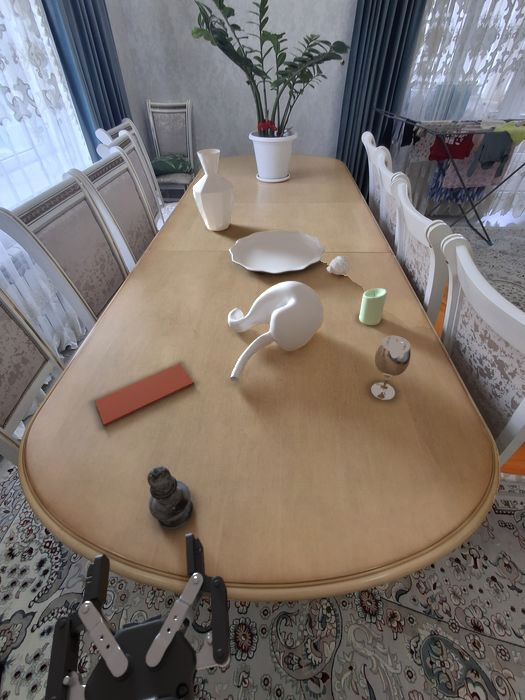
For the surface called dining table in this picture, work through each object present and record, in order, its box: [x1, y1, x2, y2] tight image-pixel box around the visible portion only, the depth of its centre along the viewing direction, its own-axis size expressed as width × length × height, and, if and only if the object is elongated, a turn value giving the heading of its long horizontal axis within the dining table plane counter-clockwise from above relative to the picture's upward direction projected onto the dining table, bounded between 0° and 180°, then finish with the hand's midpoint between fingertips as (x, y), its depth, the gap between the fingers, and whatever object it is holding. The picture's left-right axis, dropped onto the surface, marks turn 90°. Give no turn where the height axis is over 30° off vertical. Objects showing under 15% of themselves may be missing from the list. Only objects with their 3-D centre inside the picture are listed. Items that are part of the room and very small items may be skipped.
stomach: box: [227, 280, 325, 383], centre depth 76 cm, size 23×13×24 cm
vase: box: [192, 148, 235, 232], centre depth 123 cm, size 14×14×25 cm
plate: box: [228, 229, 326, 275], centre depth 110 cm, size 29×29×2 cm
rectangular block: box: [94, 362, 194, 426], centre depth 70 cm, size 18×7×1 cm, turn 123°
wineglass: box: [370, 335, 412, 401], centre depth 63 cm, size 6×6×12 cm
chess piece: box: [146, 465, 194, 530], centre depth 48 cm, size 6×6×12 cm
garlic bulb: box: [326, 255, 351, 276], centre depth 99 cm, size 6×6×5 cm
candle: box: [358, 287, 388, 326], centre depth 82 cm, size 5×5×8 cm
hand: (147, 546), depth 34 cm, fingers open, 8 cm apart
